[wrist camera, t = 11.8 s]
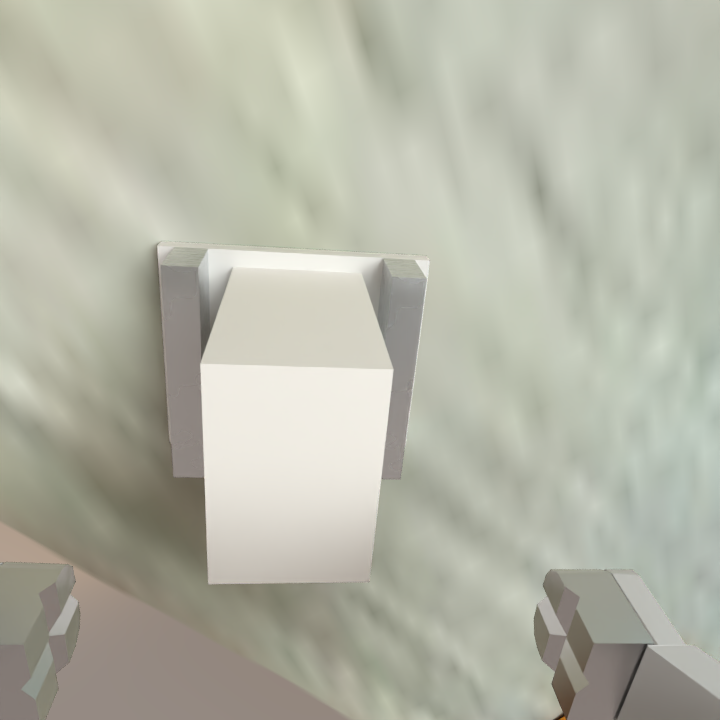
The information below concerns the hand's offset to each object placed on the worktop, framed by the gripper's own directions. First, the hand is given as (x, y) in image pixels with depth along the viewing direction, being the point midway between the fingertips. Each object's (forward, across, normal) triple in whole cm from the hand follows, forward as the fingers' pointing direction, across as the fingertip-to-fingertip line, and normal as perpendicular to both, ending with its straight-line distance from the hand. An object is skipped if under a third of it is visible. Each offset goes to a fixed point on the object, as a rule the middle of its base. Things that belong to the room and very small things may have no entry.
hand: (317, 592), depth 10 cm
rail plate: (+11, +1, 0) cm, 11 cm away
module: (+10, +1, 0) cm, 11 cm away
